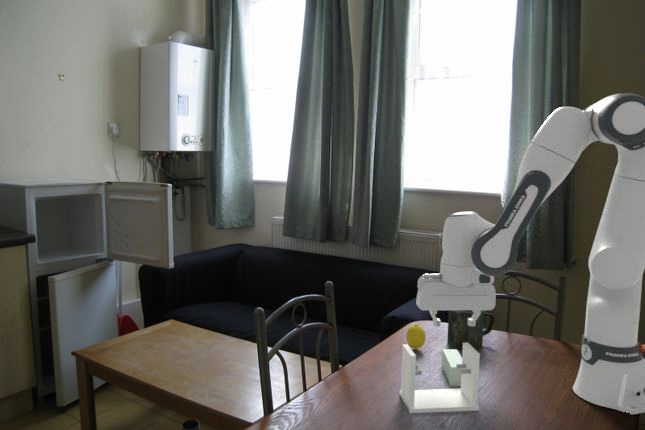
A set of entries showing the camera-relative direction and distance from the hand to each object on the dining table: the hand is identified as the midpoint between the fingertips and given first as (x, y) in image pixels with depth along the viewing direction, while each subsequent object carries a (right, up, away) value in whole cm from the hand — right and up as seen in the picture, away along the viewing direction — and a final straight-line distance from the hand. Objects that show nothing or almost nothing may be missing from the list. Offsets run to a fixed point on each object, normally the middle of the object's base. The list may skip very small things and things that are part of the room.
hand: (453, 325), depth 133 cm
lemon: (-7, -11, +19) cm, 23 cm away
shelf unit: (-7, -15, -13) cm, 21 cm away
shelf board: (0, -14, +1) cm, 14 cm away
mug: (+11, -11, +24) cm, 28 cm away
